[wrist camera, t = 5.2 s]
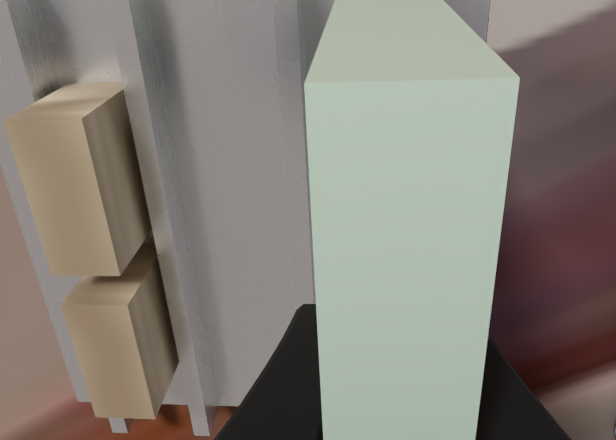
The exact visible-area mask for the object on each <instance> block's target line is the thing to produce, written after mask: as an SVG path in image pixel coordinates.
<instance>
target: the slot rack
mask: <svg viewBox="0 0 616 440" xmlns="http://www.w3.org/2000/svg"><path fill="white" fill-rule="evenodd" d="M334 1H335V0H0V165H1V168H2V171H3V174H4V178H5V181H6V184H7V187H8V190H9V193H10V196H11V199H12V202H13V205H14V208H15V211H16V214H17V217H18V220H19V223H20V226H21V229H22V232H23V236H24V239H25V242H26V245H27V248H28V251H29V254H30V257H31V260H32V263H33V266H34V269H35V272H36V275H37V278H38V281H39V284H40V287H41V290H42V294H43V297H44V300H45V303H46V306H47V309H48V312H49V315H50V318H51V321H52V324H53V327H54V330H55V333H56V336H57V339H58V342H59V345H60V349H61V352H62V355H63V358H64V361H65V364H66V367H67V370H68V373H69V376H70V379H71V382H72V385H73V388H74V391H75V394H76V397H77V400H78V401H79V402H91V400H90V397H89V394H88V391H87V388H86V384H85V381H84V378H83V375H82V372H81V368H80V365H79V362H78V359H77V356H76V352H75V349H74V346H73V343H72V340H71V336H70V333H69V330H68V327H67V324H66V320H65V317H64V314H63V311H62V308H61V304H62V302H63V301H64V300H65V298H66V297H67V296H68V295H69V293H70V292H71V291H72V290H73V288H74V287H75V286H76V284H77V283H78V282H79V281H80V279H81V278H82V277H83V276H51V272H50V269H49V266H48V263H47V260H46V256H45V253H44V250H43V247H42V244H41V241H40V237H39V234H38V231H37V228H36V225H35V221H34V218H33V215H32V212H31V209H30V205H29V202H28V199H27V196H26V193H25V189H24V186H23V183H22V180H21V177H20V173H19V170H18V167H17V164H16V161H15V157H14V154H13V151H12V148H11V145H10V141H9V138H8V135H7V132H6V129H5V125H4V122H3V120H4V119H6V118H8V117H10V116H12V115H13V114H15V113H17V112H19V111H20V110H22V109H24V108H26V107H28V106H29V105H31V104H33V103H35V102H37V101H38V100H40V99H42V98H44V97H45V96H47V95H49V94H51V93H53V92H54V91H56V90H58V89H60V88H62V87H63V86H65V85H67V84H69V83H96V82H122V84H123V89H124V94H125V99H126V104H127V109H128V113H129V118H130V123H131V128H132V133H133V138H134V143H135V148H136V153H137V157H138V162H139V167H140V172H141V177H142V182H143V187H144V192H145V197H146V201H147V206H148V211H149V216H150V221H151V226H152V230H151V232H150V233H149V235H148V236H147V238H146V239H145V240H144V242H143V243H155V246H156V250H157V255H158V260H159V265H160V270H161V275H162V280H163V285H164V290H165V294H166V299H167V304H168V309H169V314H170V319H171V324H172V329H173V334H174V338H175V343H176V348H177V353H178V358H179V364H178V366H177V368H176V371H175V373H174V376H173V378H172V380H171V383H170V385H169V388H168V390H167V392H166V395H165V397H164V400H163V402H162V404H178V405H188V407H189V412H190V417H191V422H192V427H193V431H194V435H197V436H210V434H211V431H212V427H213V424H214V420H215V417H216V414H217V410H218V407H219V406H239V405H240V404H241V402H242V401H243V399H244V398H245V396H246V395H247V393H248V392H249V390H250V389H251V387H252V386H253V384H254V383H255V381H256V380H257V378H258V377H259V375H260V374H261V372H262V371H263V369H264V367H265V366H266V364H267V363H268V361H269V359H270V358H271V356H272V354H273V353H274V351H275V349H276V348H277V346H278V344H279V343H280V341H281V339H282V337H283V335H284V334H285V332H286V330H287V328H288V326H289V324H290V322H291V320H292V318H293V316H294V314H295V312H296V310H297V309H298V308H299V307H300V306H302V305H303V304H316V296H315V278H314V259H313V241H312V222H311V204H310V185H309V166H308V148H307V129H306V111H305V92H304V82H305V80H306V77H307V74H308V72H309V69H310V66H311V64H312V61H313V58H314V55H315V53H316V50H317V47H318V45H319V42H320V39H321V37H322V34H323V31H324V28H325V26H326V23H327V20H328V18H329V15H330V12H331V10H332V7H333V4H334ZM444 1H445V2H446V3H447V4H448V5H449V6H450V7H451V8H452V9H453V10H454V11H455V12H456V13H457V14H458V15H459V16H460V17H461V18H462V19H463V20H464V22H465V23H466V24H467V25H468V26H469V27H470V28H471V29H472V30H473V31H474V32H475V33H476V34H477V35H478V36H479V37H480V38H481V39H482V40H483V41H484V42H485V43H486V41H487V31H488V20H489V8H490V0H444ZM133 421H134V419H133V418H109V422H110V425H111V428H112V432H113V433H128V432H129V429H130V427H131V425H132V423H133Z"/></svg>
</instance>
